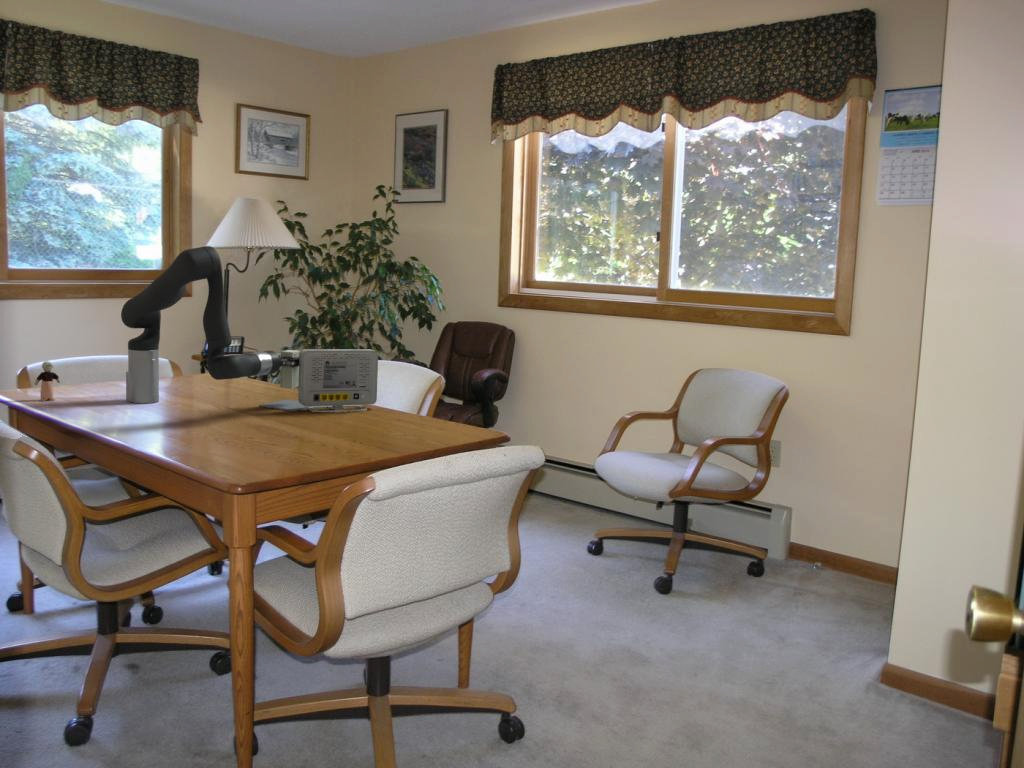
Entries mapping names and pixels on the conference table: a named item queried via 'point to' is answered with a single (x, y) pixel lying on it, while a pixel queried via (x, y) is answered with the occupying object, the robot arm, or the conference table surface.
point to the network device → (337, 378)
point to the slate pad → (285, 405)
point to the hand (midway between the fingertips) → (295, 359)
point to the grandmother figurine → (47, 381)
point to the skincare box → (289, 371)
